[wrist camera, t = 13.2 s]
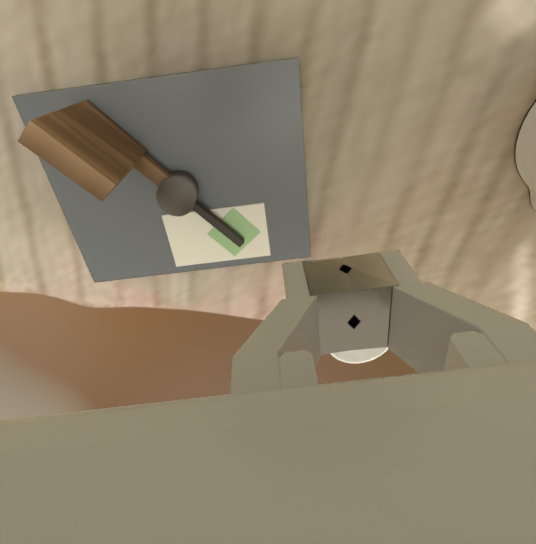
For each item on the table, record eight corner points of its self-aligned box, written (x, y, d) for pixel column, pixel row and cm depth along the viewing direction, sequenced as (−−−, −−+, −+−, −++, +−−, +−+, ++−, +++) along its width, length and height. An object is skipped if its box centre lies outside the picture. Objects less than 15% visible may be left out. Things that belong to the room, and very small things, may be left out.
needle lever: (92, 91, 36) (36, 109, 26) (253, 227, 44) (254, 277, 35) (71, 123, 37) (11, 151, 28) (231, 248, 45) (226, 302, 36)
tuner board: (297, 57, 36) (298, 57, 35) (309, 253, 48) (311, 258, 46) (16, 95, 37) (9, 97, 36) (96, 279, 48) (93, 284, 47)
